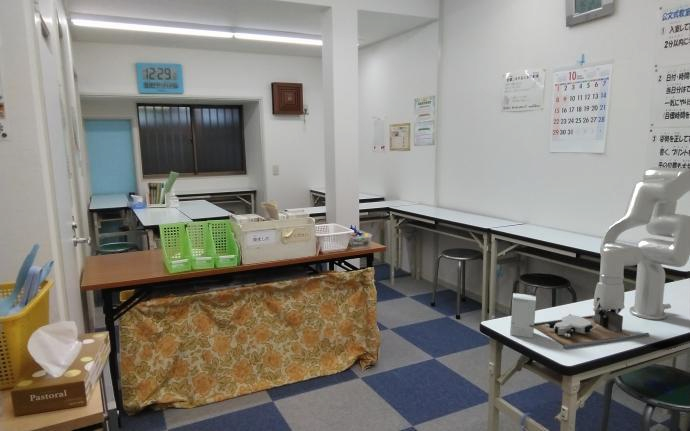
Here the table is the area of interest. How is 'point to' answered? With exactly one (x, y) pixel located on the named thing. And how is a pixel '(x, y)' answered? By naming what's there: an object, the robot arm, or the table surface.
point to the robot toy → (571, 325)
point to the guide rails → (595, 340)
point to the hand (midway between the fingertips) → (607, 325)
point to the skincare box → (523, 315)
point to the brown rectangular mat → (596, 334)
